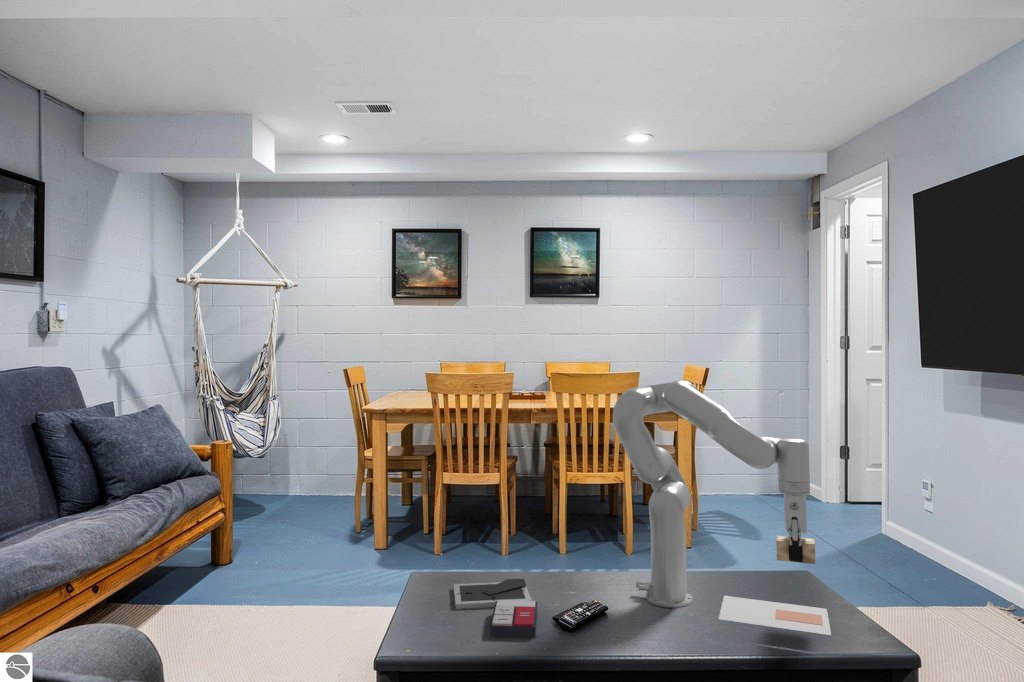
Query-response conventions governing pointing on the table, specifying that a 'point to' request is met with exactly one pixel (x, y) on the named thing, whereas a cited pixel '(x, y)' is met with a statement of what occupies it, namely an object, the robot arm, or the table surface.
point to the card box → (806, 544)
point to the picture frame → (489, 593)
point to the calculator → (514, 619)
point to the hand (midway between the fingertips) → (796, 557)
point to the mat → (775, 615)
